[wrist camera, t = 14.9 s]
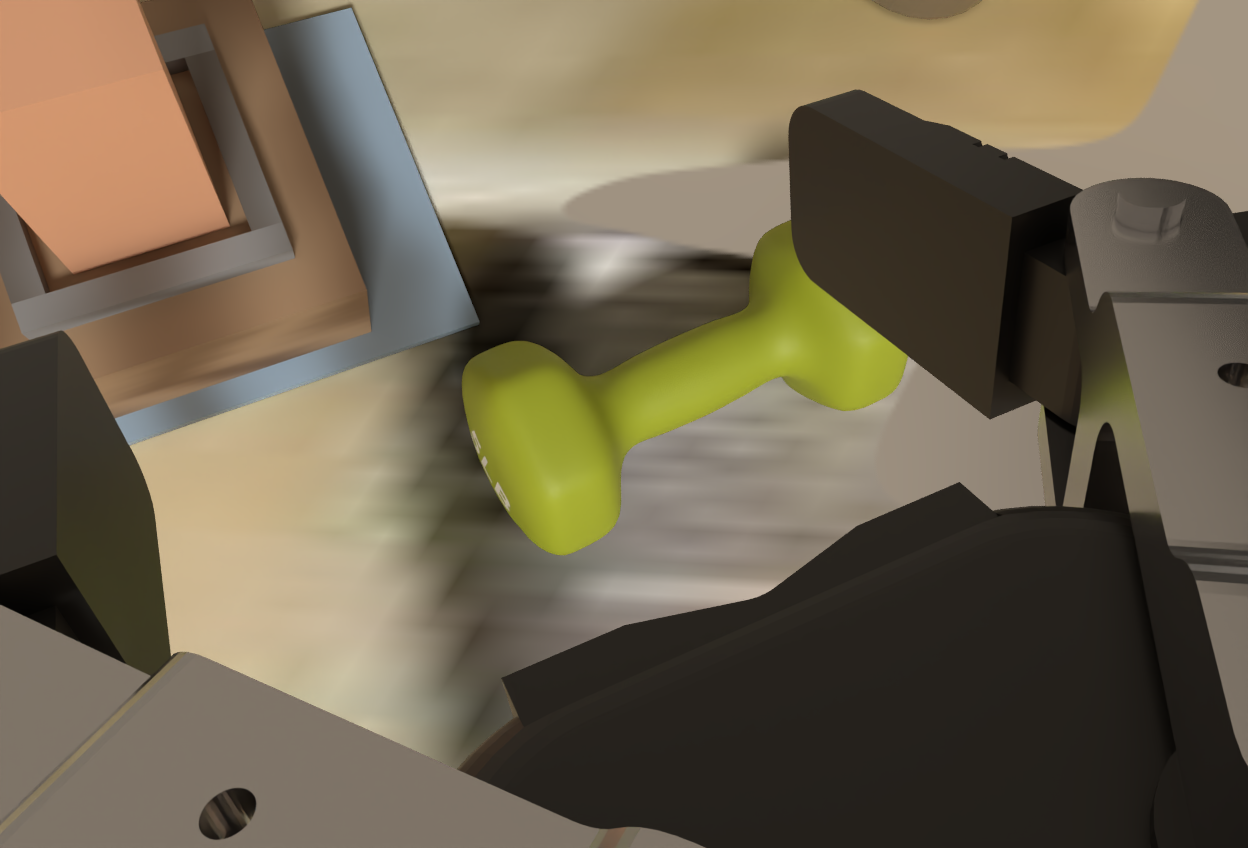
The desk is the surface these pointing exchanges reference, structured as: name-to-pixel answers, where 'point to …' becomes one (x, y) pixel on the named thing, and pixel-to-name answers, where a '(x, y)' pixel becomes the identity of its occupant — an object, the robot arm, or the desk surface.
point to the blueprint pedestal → (255, 233)
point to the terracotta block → (97, 134)
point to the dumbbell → (659, 395)
